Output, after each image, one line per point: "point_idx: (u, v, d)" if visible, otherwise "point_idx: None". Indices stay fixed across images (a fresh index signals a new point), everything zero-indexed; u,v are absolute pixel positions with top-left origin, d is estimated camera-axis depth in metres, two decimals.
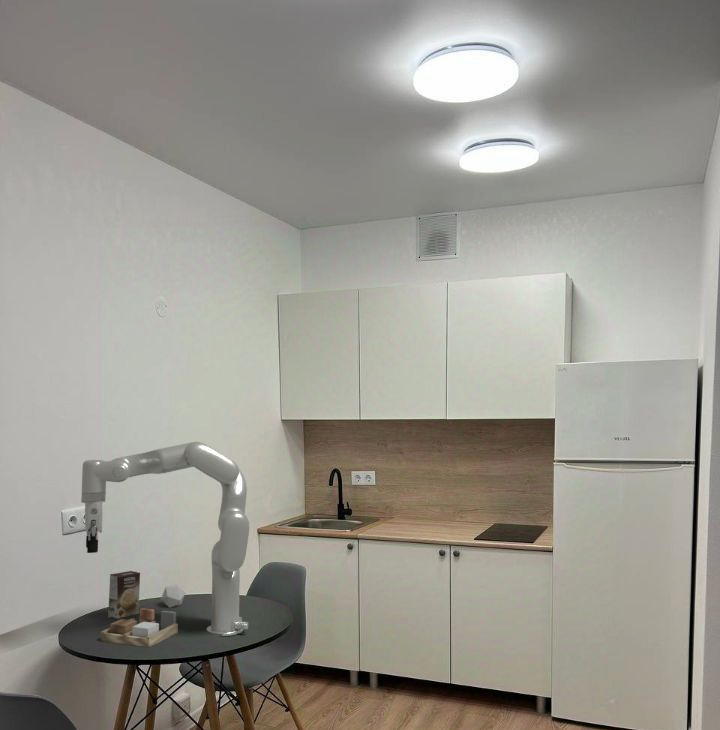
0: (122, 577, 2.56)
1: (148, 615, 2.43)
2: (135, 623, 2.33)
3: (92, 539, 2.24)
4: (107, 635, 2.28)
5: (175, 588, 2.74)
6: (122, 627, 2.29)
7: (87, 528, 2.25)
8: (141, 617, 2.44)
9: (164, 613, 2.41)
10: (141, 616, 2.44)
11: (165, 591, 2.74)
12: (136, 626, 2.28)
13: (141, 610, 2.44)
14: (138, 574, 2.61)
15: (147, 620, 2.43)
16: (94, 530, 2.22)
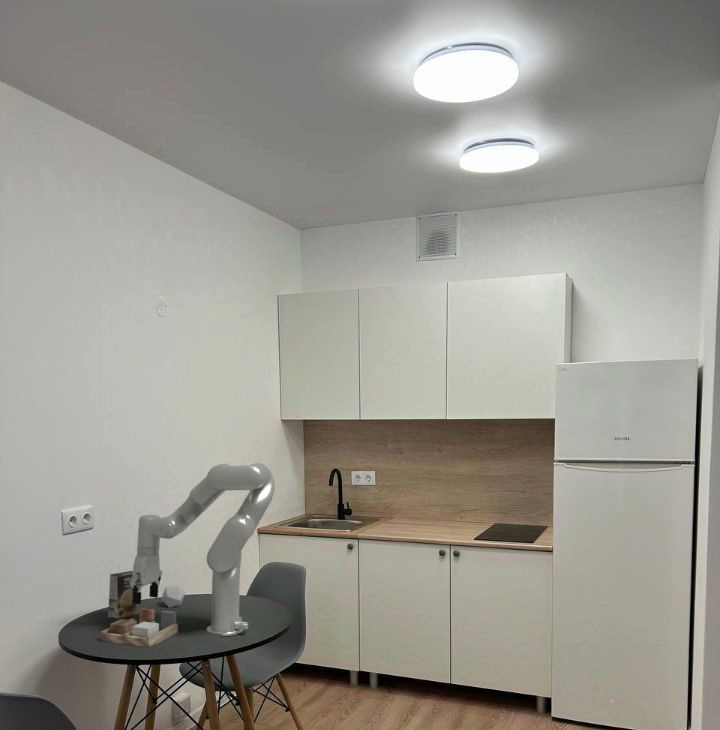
0: (122, 577, 2.56)
1: (148, 615, 2.43)
2: (135, 623, 2.33)
3: None
4: (107, 635, 2.28)
5: (175, 588, 2.74)
6: (122, 627, 2.29)
7: None
8: (141, 617, 2.44)
9: (164, 613, 2.41)
10: (141, 616, 2.44)
11: (165, 591, 2.74)
12: (136, 626, 2.28)
13: (141, 610, 2.44)
14: None
15: (147, 620, 2.43)
16: None
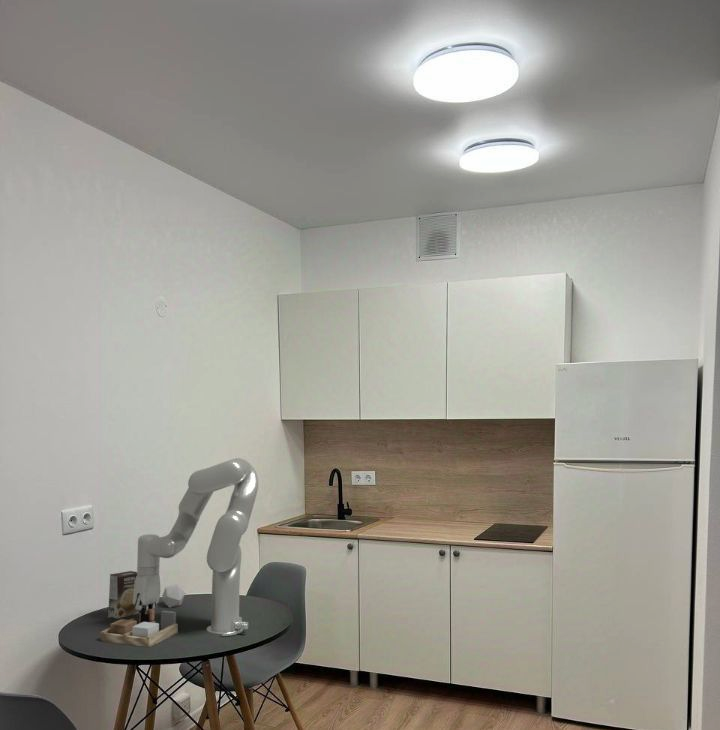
0: (122, 577, 2.56)
1: None
2: (135, 623, 2.33)
3: None
4: (107, 635, 2.28)
5: (175, 588, 2.74)
6: (122, 627, 2.29)
7: None
8: None
9: (164, 613, 2.41)
10: None
11: (165, 591, 2.74)
12: (136, 626, 2.28)
13: None
14: None
15: None
16: None
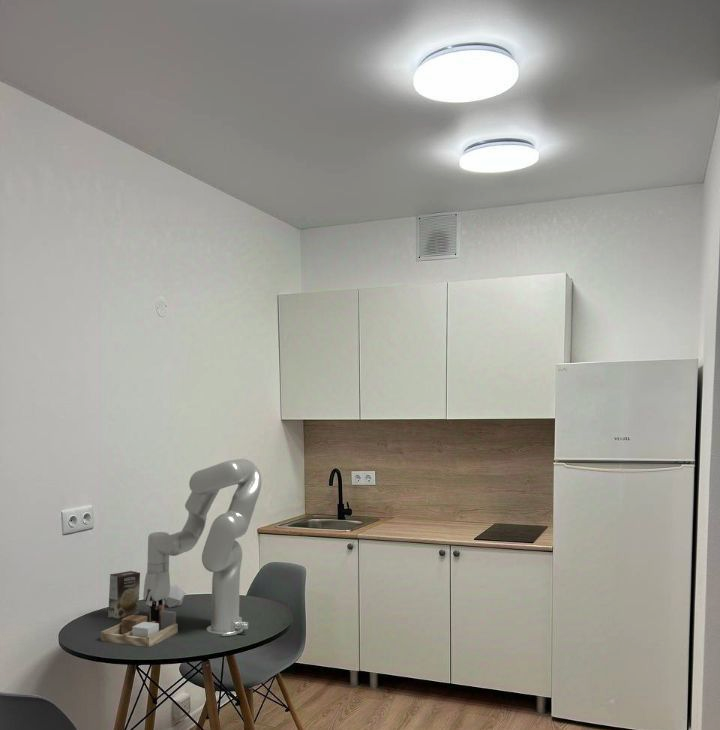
0: (122, 577, 2.56)
1: None
2: (146, 618, 2.39)
3: None
4: (107, 635, 2.28)
5: (175, 588, 2.74)
6: (133, 622, 2.34)
7: None
8: None
9: (164, 613, 2.41)
10: None
11: None
12: (136, 626, 2.28)
13: None
14: (138, 574, 2.61)
15: None
16: None
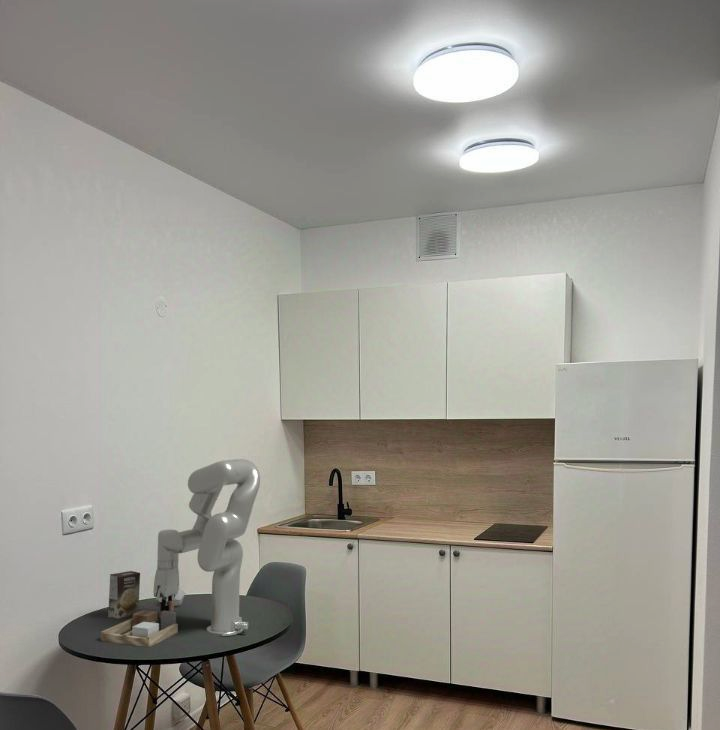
0: (122, 577, 2.56)
1: None
2: (156, 613, 2.45)
3: None
4: (107, 635, 2.28)
5: None
6: (144, 617, 2.40)
7: None
8: None
9: (164, 613, 2.41)
10: None
11: None
12: (136, 626, 2.28)
13: None
14: (138, 574, 2.61)
15: None
16: None
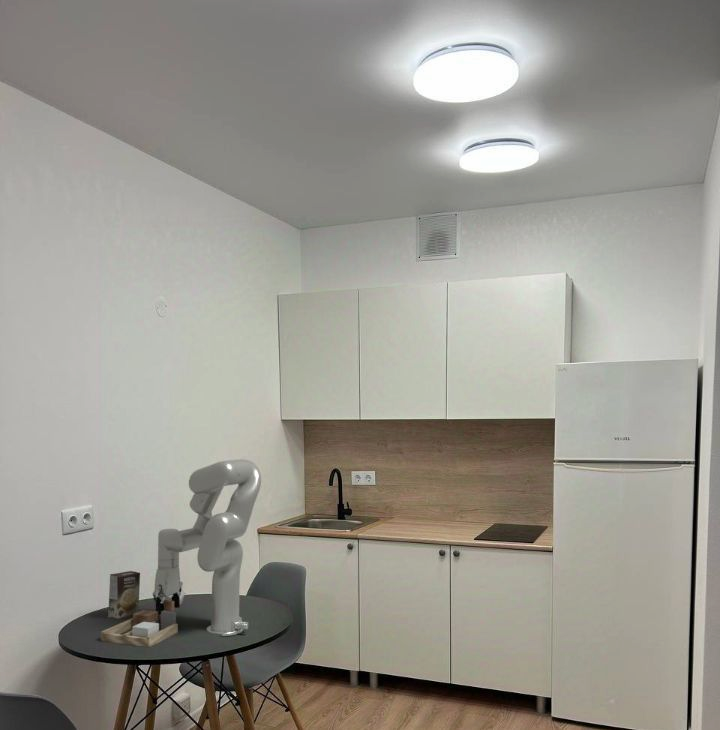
0: (122, 577, 2.56)
1: (168, 607, 2.54)
2: (157, 613, 2.45)
3: None
4: (107, 635, 2.28)
5: None
6: (144, 617, 2.40)
7: None
8: None
9: (164, 613, 2.41)
10: None
11: None
12: (136, 626, 2.28)
13: None
14: (138, 574, 2.61)
15: None
16: None
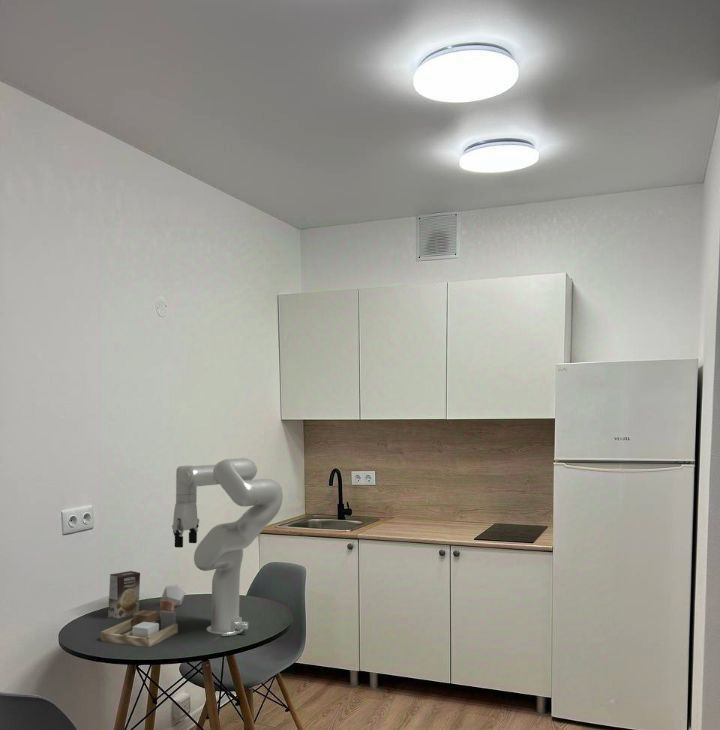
0: (122, 577, 2.56)
1: (168, 607, 2.54)
2: (157, 613, 2.45)
3: None
4: (107, 635, 2.28)
5: (175, 588, 2.74)
6: (144, 617, 2.40)
7: None
8: (161, 608, 2.55)
9: (164, 613, 2.41)
10: (161, 607, 2.55)
11: (165, 591, 2.74)
12: (136, 626, 2.28)
13: (161, 601, 2.55)
14: (138, 574, 2.61)
15: None
16: None
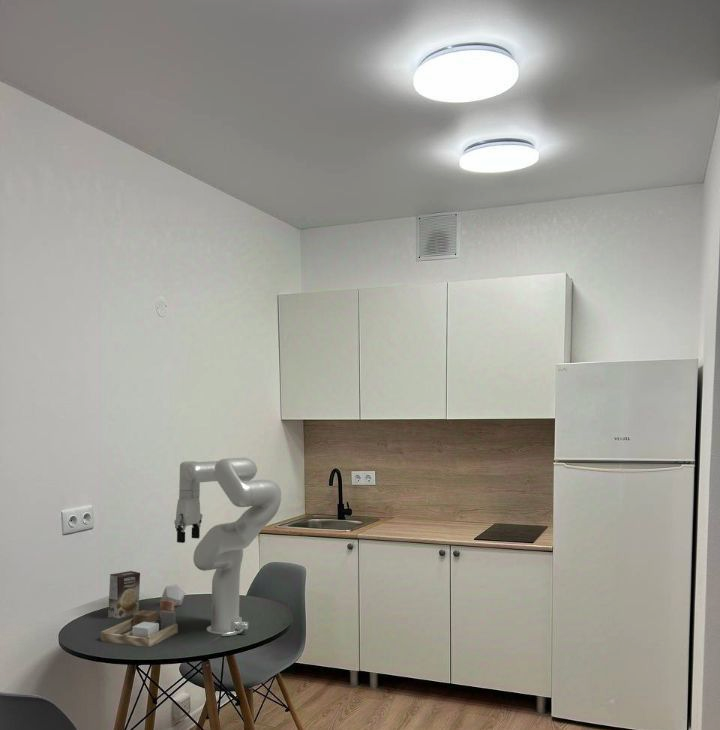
0: (122, 577, 2.56)
1: (168, 607, 2.54)
2: (157, 613, 2.45)
3: None
4: (107, 635, 2.28)
5: (175, 588, 2.74)
6: (144, 617, 2.40)
7: None
8: (161, 608, 2.55)
9: (164, 613, 2.41)
10: (161, 607, 2.55)
11: (165, 591, 2.74)
12: (136, 626, 2.28)
13: (161, 601, 2.55)
14: (138, 574, 2.61)
15: None
16: None
